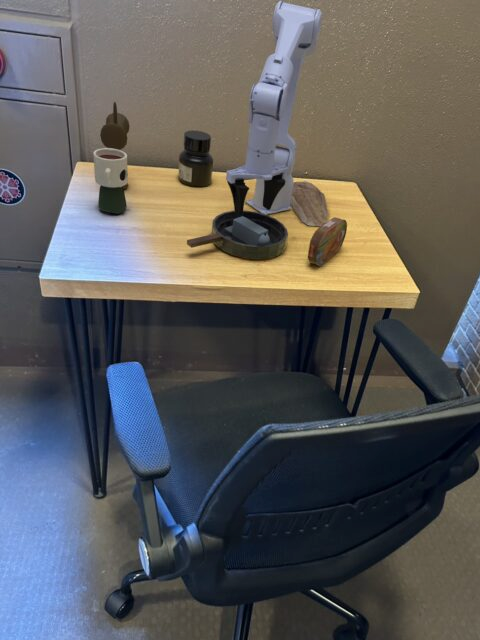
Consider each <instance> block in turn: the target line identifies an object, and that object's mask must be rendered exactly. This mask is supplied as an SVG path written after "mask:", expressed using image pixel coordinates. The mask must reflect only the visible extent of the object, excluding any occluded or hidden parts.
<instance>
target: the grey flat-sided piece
mask: <svg viewBox="0 0 480 640" xmlns="http://www.w3.org/2000/svg"><path fill="white" fill-rule="evenodd" d="M224 231H225V232H227V233H229V234H230V235H231V234H232V235H233V236H235V237H237V238H238V239H240V240H242V241H244V242H245V243H247V244H249V245H256V246H262V245H268V244H269V242H270V238H269V236H268V230H267V229H265V228H263V227H261V226H260V225H258V224H256V223H254V222H252V221H251V220H249V219H247V218H245V217H243V216H242V217H239V218H236V219H233V226H230V227H227V228H224Z"/></svg>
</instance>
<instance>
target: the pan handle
mask: <svg viewBox="0 0 480 640" xmlns="http://www.w3.org/2000/svg"><path fill="white" fill-rule="evenodd" d="M218 241H222V236H221V235H220V234H218V233H215V234H212V233H211V234H206V235H203V236H199V237H194V238H189V239H186V245H187V246H189V248H191V249H192V248H197V247H202V246H205V245H209V244H214V242H218Z"/></svg>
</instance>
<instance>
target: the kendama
mask: <svg viewBox="0 0 480 640" xmlns="http://www.w3.org/2000/svg"><path fill="white" fill-rule="evenodd" d="M112 105H113V106H112V113H110V114H108V115H107V117H106V118H105V124H104V125H103V126H102V127H101V129H100V134H99V136H100V141H101V142H102V145H103V146H104V147H105V148H113V149H118V150H121V151H122V149H125V147H126V146H127V144H128V133H129V132H130V126H131V125H130V122H129V119H128V118H127V116H125V114H122V113H119V112H118V106H117V102H116V101H114V102H113V103H112ZM128 182H129V181H128ZM128 182H127V184H126V185H124V186H122V187H123V189H124V190H125V189H127V188H128V187H129V183H128Z"/></svg>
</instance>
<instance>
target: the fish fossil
mask: <svg viewBox="0 0 480 640" xmlns="http://www.w3.org/2000/svg"><path fill="white" fill-rule="evenodd" d="M290 207H292V208H291V209H293V211H294V213H295V215H296V216H297V217H298V219H299V220H300V222H301V223H303V224H305V225H306V226H310V227H315V226H316V227H321V226H322V225H324V224H325V223H326V222H327V221H328V207H327V199H326V195H325V193H324V192H323V191H321V190H320V189H319V188H318V187H317V186H316V185H315V184H313V183H312V182H310V181H305V180H304V181H293V191H292V196H291V201H290Z"/></svg>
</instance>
